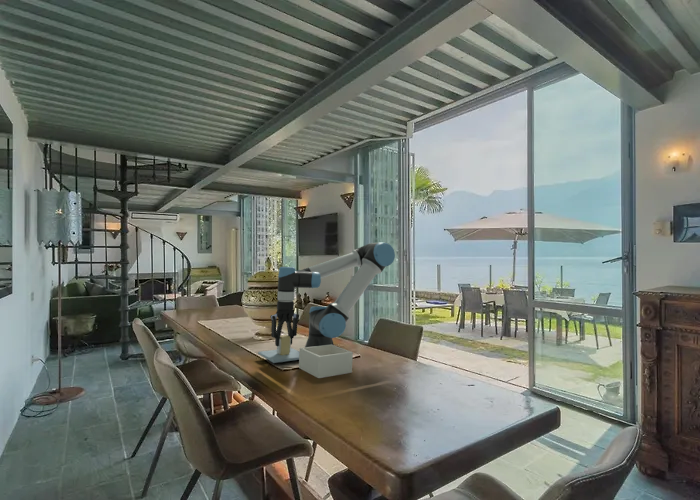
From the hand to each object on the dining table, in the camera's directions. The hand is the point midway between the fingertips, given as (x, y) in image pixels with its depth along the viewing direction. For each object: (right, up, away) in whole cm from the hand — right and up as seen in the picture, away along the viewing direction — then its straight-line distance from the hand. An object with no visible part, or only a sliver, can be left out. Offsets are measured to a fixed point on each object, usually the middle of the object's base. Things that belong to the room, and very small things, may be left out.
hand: (283, 352), depth 173 cm
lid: (0, -2, 0) cm, 2 cm away
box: (+20, -4, -14) cm, 25 cm away
